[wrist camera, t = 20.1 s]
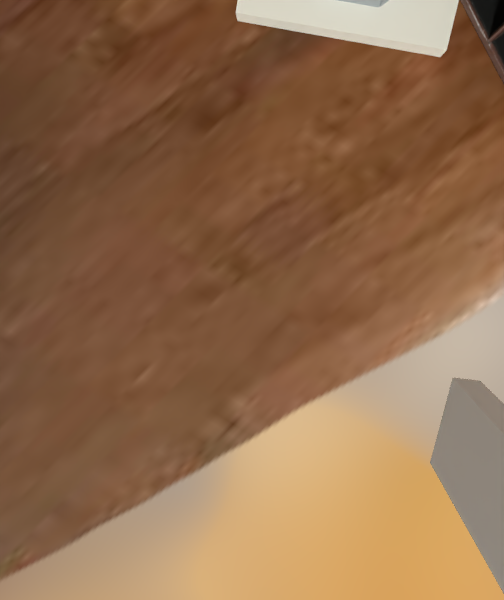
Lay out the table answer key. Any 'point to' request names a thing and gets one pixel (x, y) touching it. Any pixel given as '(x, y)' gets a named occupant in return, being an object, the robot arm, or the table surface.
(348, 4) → the dock board
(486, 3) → the letter holder
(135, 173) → the table surface
